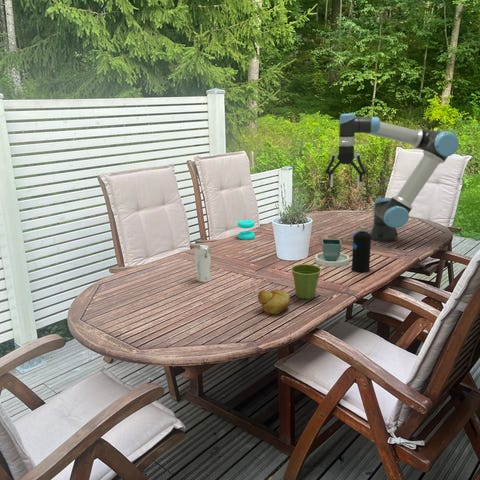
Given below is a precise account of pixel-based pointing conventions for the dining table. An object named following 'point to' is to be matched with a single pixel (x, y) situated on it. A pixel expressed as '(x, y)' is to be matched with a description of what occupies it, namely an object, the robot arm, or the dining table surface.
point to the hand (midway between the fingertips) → (344, 187)
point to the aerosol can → (361, 251)
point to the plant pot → (305, 280)
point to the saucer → (341, 261)
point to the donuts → (246, 224)
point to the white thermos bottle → (203, 262)
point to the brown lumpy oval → (274, 301)
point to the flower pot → (331, 249)
